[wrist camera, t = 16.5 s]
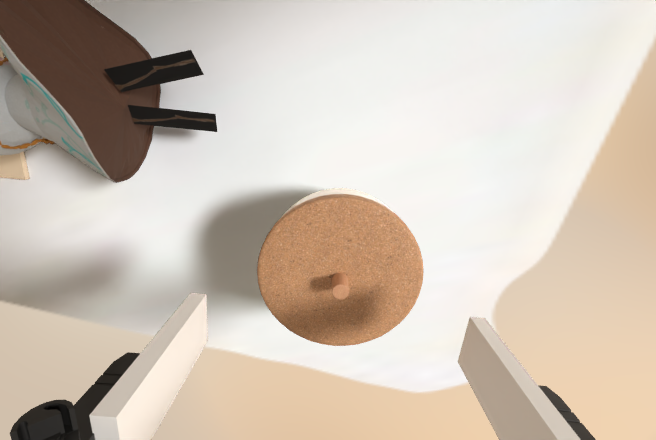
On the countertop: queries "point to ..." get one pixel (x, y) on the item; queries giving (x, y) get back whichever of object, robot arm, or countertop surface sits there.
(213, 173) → the countertop surface
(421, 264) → the lidded jar
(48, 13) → the decorative toy
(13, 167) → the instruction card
